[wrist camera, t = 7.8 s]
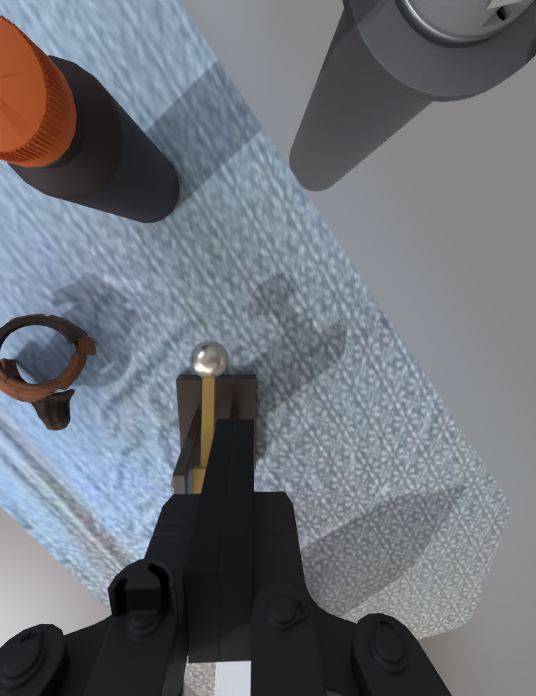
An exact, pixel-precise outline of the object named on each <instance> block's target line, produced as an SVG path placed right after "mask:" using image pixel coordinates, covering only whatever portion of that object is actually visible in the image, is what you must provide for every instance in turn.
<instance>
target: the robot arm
mask: <svg viewBox="0 0 536 696" xmlns="http://www.w3.org/2000/svg"><path fill="white" fill-rule="evenodd" d="M395 2H396V5H397V7H398V9H399V11H400V12H401V14H402V16H403V17H404V19H405V20H406V21H407V23H408V24H409V25H410V26H411V27H412V28H413V29H414V31H415V32H417V33H418V34H419V35H420V36H422V37H423V38H425V39H426V40H428V41H430V42H432V43H434V44H436V45H439V46H443V47H448V48H466V47H472V46H475V45H479V44H481V43H484V42H486V41H488V40H490V39H492V38H494V37H495V36H497V35H498V34H500V33H501V32H502V31H504V30H505V29H506V28H507V27H508V26H509V25H511V24H512V23H513V22H514V21H515V20H516V19H517V18H519V17H520V16H521V15H522V14H523V13H524V12H525V11H526V10H527V9H528V7H529V6H530V5H531V4H532V3H533V2H534V0H395ZM108 593H109V599H110V605H111V611H112V615H110V616H109V617H107V618H106V619H105V620H102V621H100V622H98V623H96V624H94V625H92V626H89V627H86V628H83V629H80V630H78V631H75V632H72V633H70V634H67V635H63V632H62V630H61V629H60V628H58V627H56V626H54V625H53V624H39V625H36V626H33V627H31V628H28V629H25V630H23V631H22V632H20V633H19V634H17V635H15V636H14V637H12V638H11V639H9V640H8V641H7V642H6V643H5V644H4V645H3V646H2V647H1V648H0V696H184V673H185V667H186V661H187V655H188V660H189V663H208V662H237V661H251V687H250V696H452V695H451V694H450V692H449V691H448V689H447V688H446V686H445V684H444V682H443V681H442V679H441V678H440V676H439V674H438V673H437V671H436V670H435V668H434V666H433V665H432V663H431V662H430V660H429V658H428V657H427V655H426V654H425V652H424V650H423V649H422V647H421V646H420V644H419V643H418V641H417V639H416V638H415V637H414V636H413V634H412V633H411V632H410V631H409V630H408V628H407V627H406V626H405V625H403V624H402V623H401V622H399V621H398V620H396V619H395V618H394V617H391V616H388V615H385V614H382V613H373V614H368V615H366V616H364V617H363V618H361V619H360V620H359V621H358V623H357V624H356V623H354V622H351V621H348V620H345V619H342V618H339V617H336V616H334V615H332V614H330V613H327V612H326V611H324V610H323V609H322V608H321V607H319V606H318V605H317V604H316V603H315V601H314V600H313V599H312V598H311V596H310V594H309V592H308V590H307V588H306V584H305V580H304V573H303V567H302V560H301V554H300V547H299V541H298V534H297V527H296V521H295V514H294V508H293V503H292V502H291V500H290V499H289V497H288V496H287V494H286V493H285V492H254V419H217V422H216V426H215V431H214V435H213V440H212V444H211V449H210V453H209V458H208V462H207V467H206V471H205V476H204V480H203V485H202V489H201V494H173V495H172V497H171V498H170V499H169V500H168V501H167V502H166V503H165V504H164V506H163V507H162V510H161V513H160V516H159V518H158V521H157V524H156V527H155V529H154V532H153V537H152V538H151V541H150V543H149V546H148V549H147V552H146V555H145V557H144V559H141V560H138V561H136V562H134V563H132V564H130V565H128V566H126V567H125V568H124V569H123V570H122V571H121V572H120V573H118V574H117V575H116V576H115V578H114V579H113V581H112V583H111V584H110V586H109V587H108Z"/></svg>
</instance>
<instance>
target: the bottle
mask: <svg viewBox="0 0 536 696" xmlns="http://www.w3.org/2000/svg"><path fill="white" fill-rule="evenodd" d="M0 159H1V160H4V161H6V162H7V163H8V164H9V165H10V167H11V168H12V169H13V170H14V171H15V172H16V173H17V174H18V175H19V176H20V177H21V178H22V179H23V180H24V181H25V182H26V183H27V184H29V185H31V186H32V187H34V188H36V189H37V190H39V191H41V192H42V193H44V194H46V195H49V196H52V197H56V198H59V199H63V200H66V201H69V202H73V203H76V204H80V205H83V206H87V207H90V208H94V209H97V210H101V211H104V212H107V213H111V214H114V215H118V216H121V217H125V218H128V219H132V220H135V221H139V222H143V223H151V222H157V221H159V220H161V219H164V218H165V217H166V216H167V215H168V214H169V213H171V212H172V210H173V209H174V207H175V205H176V203H177V200H178V194H179V184H178V177H177V175H176V172H175V170H174V168H173V166H172V165H171V163H170V162H169V161H168V160H167V158H166V157H165V156H164V155H163V154H162V153H161V151H160V150H159V149H158V148H157V147H156V146H155V145H154V143H153V142H152V141H151V140H150V139H149V138H148V137H147V136H146V134H145V133H144V132H143V131H142V130H141V129H140V128H139V126H138V125H137V124H136V123H135V122H134V121H133V120H132V118H131V117H130V116H129V115H128V114H127V113H126V112H125V110H124V109H123V108H122V107H121V106H120V105H119V104H118V103H117V101H116V100H115V99H114V98H113V97H112V96H111V95H110V93H109V92H108V91H107V90H106V89H105V88H104V87H103V85H102V84H101V83H100V82H99V81H98V80H97V79H96V78H95V77H94V76H93V75H91V74H90V73H88V72H87V71H86V70H84V69H83V68H81V67H80V66H78V65H77V64H76V63H74V62H71V61H68V60H64V59H61V58H58V57H55V56H51V55H48V56H47V55H46V54H45V53H44V52H43V51H42V50H41V49H40V48H39V47H38V46H36V45H35V44H34V43H33V42H32V41H31V40H30V39H29V38H28V37H27V36H26V35H25V34H24V33H23V32H22V31H21V30H20V29H19V28H18V27H17V26H16V25H15V24H14V23H13V24H12V23H11V22H10V21H9V20H8V19H6V18H5V17H4V16H2V15H1V16H0Z"/></svg>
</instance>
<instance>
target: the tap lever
mask: <svg viewBox="0 0 536 696" xmlns="http://www.w3.org/2000/svg"><path fill="white" fill-rule="evenodd" d="M190 363H191V367H192V369H193V371H194V372H195V373H196V374H197V375H198V376H200V377H202V378H203V389H202V428H201V464H197V465H196V467H195V468H194V469H193V482H192V494H201V489H202V485H203V480H204V476H205V471H206V467H207V462H208V458H209V453H210V449H211V444H212V440H213V435H214V431H215V396H216V378H217V377H219V376H221V375H222V374H223V373H224V372H225V371H226V369H227V367H228V364H229V355H228V352H227V350H226V349H225V348H224V347H223V346H222V345H221V344H220V343H218V342H215V341H205V342H202V343H200V344H198V345H197V346H196V347H195V348H194V349H193V351H192V353H191V357H190Z"/></svg>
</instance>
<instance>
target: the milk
mask: <svg viewBox="0 0 536 696" xmlns="http://www.w3.org/2000/svg"><path fill="white" fill-rule="evenodd" d="M318 606H319V607H320V605H318ZM250 687H251V661H237V662H216V676H215V695H214V696H250Z"/></svg>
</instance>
